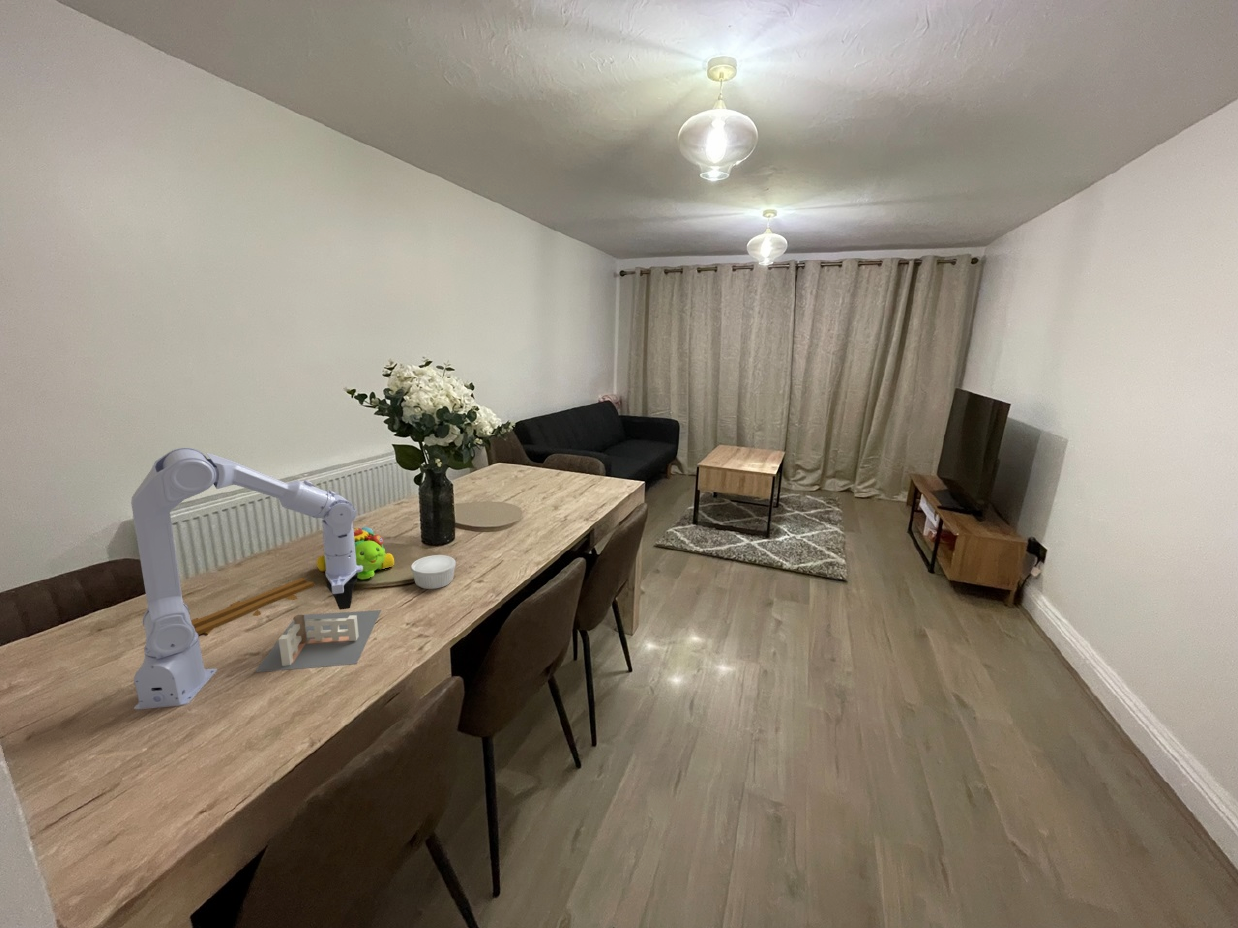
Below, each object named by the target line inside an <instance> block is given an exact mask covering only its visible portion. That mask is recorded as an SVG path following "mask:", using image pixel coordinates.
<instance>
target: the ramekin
mask: <svg viewBox="0 0 1238 928" xmlns="http://www.w3.org/2000/svg"><path fill="white" fill-rule="evenodd" d="M456 564H457V561H456V560H455V559H454V558H453V557H451V556H449V555H445V554H444V555H443V554H434V555H428V556H427V555H426V556H424V557H421V558H419V559H417V560H414V562H412V564H411V565H410V569H411V572H412V576H413V580H414V583H415V584H416V586H418V587H419V588H421V589H425V590H436V589H440V588H444V587H446V586H447V585H450V583H451V582H452V581H453V579H454V577H455V576H454V574H455V568H456Z"/></svg>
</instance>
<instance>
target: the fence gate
mask: <svg viewBox="0 0 1238 928" xmlns="http://www.w3.org/2000/svg"><path fill="white" fill-rule="evenodd" d="M328 625H331V630H323V628H322V626H328ZM339 625H348V629H342V630H339ZM305 626H314V630H310V631H308V632H307V633H306V634H307V637H315V640H316V641H322V640H323V639H324V637H332V641H338V640H339V639H340V636H349V641H356V640H357V638H358V637H359V635H358V625H357V615H350V616H349V617H348V618H333V619H307V620H306V621H305Z"/></svg>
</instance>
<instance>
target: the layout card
mask: <svg viewBox="0 0 1238 928" xmlns="http://www.w3.org/2000/svg"><path fill="white" fill-rule="evenodd" d="M381 612H382V609H376V610H361V611H360V610H358V611H345V612H341V611H340V612H329V613H326V612H325V613H313V614H303V615H304V620H305V621H306V620H307V619H333V618H348V617H349V616H350V615H357V625H358V635H359V637H358V638H357V640H356V641H349V636H340V639H339V640H338V641H332V637H324V639H323V640H322V641H316V640H315V637H307V642H306V643H304V644H299V645H298V652H297V653H296V655H293V662H292V664H291V665H288V666H282V660H281V653H280V646H279V639H278V640H277V641H276V643H275V644H274V646H272V648H271V650H270V651H269V652H268V654H267V655H266V656H265V657H264V659H262V661H261V663H260V664H259V665H258V667H257V668H256V670H254V672H253V673H254V674H255V673H264V672H265V673H266V672H276V671H279V672H280V671H291V670H302V669H311V668H312V669H315V668H324V667H325V668H326V667H327V668H328V667H337V666H338V667H339V666H347V665H348V666H350V665H357V663H358V661H359V660H360V658H361V656H362V653H363V651H364V649H365V646H366V645H367V643H368V640H369V639H370V636H371V634H372V632H373V630H374V627H375V625H376V622H377V620H378V619H379V616H380V614H381ZM293 625H294V619H293V620H292V621H291V623H290V624H289V625H288V626H287V628H286V629H285V631H283V633H282V635H287V633H288V630H289V629H290V628H292V627H293ZM305 628H306V633H307V632H308V631H310V630H314V626H305ZM322 628H323V630H331V625H328V626H322ZM342 629H348V625H339V630H342ZM306 636H307V634H306Z"/></svg>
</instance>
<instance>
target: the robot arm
mask: <svg viewBox="0 0 1238 928" xmlns="http://www.w3.org/2000/svg"><path fill="white" fill-rule="evenodd" d="M206 455H207V456H206ZM206 455H205V454H204V453H203V452H201V451H200V450H198V449H195V448H193V447H179V448H175V449H172V450H170V451H169V452H167V453H166V454H165V455H162V456H161V457H160V458H157V460H155V461H154V463H153V464H152V467H151V469H150V471H149V472H148V473H147V475H146V476H145V478H144V479H143V480H142V481H141V484H139V486H138V488H137V489H136V490H135V492H134V493H133V495H132V496H131V501H130V503H131V504H130V505H131V509H132V515H133V523H134V528H135V535H136V540H137V546H138V547H137V548H138V553H139V560H140V566H141V572H142V578H143V584H144V585H143V586H144V589H145V590H144V591H145V596H146V603H147V608H146V611H145V612H144V615H143V617H142V625H143V626H142V627H144V631H145V632H144V633H145V646H144V648H143V651H144V652H143V653H144V658H143V662H142V664H141V665H140V667H139V668H138V670H137V671H136V672H135V674H134V676H133V677H134V678H133V682H134V687H135V691H136V694H137V695H136V696H137V700H138V702H137V704H136V705H135V706H134V707H133V708H134V710H145V709H156V708H167V707H178V706H187V705H188V704H189V703H191V701H193V699H194V698H195V697H196V695H197V694H198V693H199V692H200V691H201V690H202V689H203V688H204V686H206V683H208V682H209V680H211V678H212V677H213V676H214V675H215V673H217V671H218V669H217V668H205V664H204V659H203V653H202V648H201V643H200V638H199V635H198V633H196V632H195V628H194V626H193V625H192V622H191V620H192V619H191V616H190V613H191V612H190V609H189V607H188V606H187V604H186V603H184V600H183V599H184V598H183V594H182V588H181V580H180V574H179V568H178V567H179V566H178V560H177V559H178V558H177V553H176V552H177V551H176V544H175V537H174V532H173V531H174V530H173V525H172V516H171V511H173V510H174V508H176V507H177V506H179V504H181V503H182V502H183V501H185V500H187V499H189V498H192V497H195V496H196V495H200V494H202V493H204V492H206V491H207V490H209V489H210V488H211V487H212V486H214V487H215V489H216V490H218V489H223V488H226V487H230V486H238V487H241V488H244V489H248V490H251V491H254V492H258V493H260V494H263V495H267V496H270V497H273V498H276V499H278V500H279V502H280V505H281V507H282V508H285V509H287V510H290V511H292V512H295V513H299V514H302V515H304V516H308V517H310V518H313V519H322V520H321V523H322V538H323V541H322V542H323V549H324V551H323V552H324V555H325V563H326V571H324V572H325V577H326V579H327V581H326V588H327V590H329V591H330V592H331V594H332V595H333V597H334V600H335V602H336V604H337V607H338V609H339V611H341V610H346V609H347V610H348V609H350V608H351V607H352V601H353V593H354V592H353V591H354V588H355V586H356V584H357V581H358V578H357V577H358V573H357V572H362V571H363V566H362V565H360V566H357V565H356V553H355V541H354V529H355V528H354V524H353V523H354V521H355V520H356V517H357V514H358V511H357V510H355V509H356V508H355V506H354V505H353V503H351V502H350V501H349V500H348V499H347V498H345V497H343V496H342V495H340V494H338V493H337V492H334V491H333V490H328V491H326V490H324V489H322V488H318V487H317V486H316V487H315V486H313V485H314V483H313V482H311V481H309V480H307V479H305V480H303V481H301V480H299V479H298V480H293V481H290V482H284V481H282V480H280V479H277V478H275V477H273V476H270V475H267V474H265V473H263V472H260V471H258V470H255V469H253V468H250V467H248V466H246V465H243V464H241V463H239V462H236V461H234V460H231V459H228V458H225V457H221V456H220V455H216V454H213V453H210V452H209V453H208V452H206ZM353 528H354V529H353Z"/></svg>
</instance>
